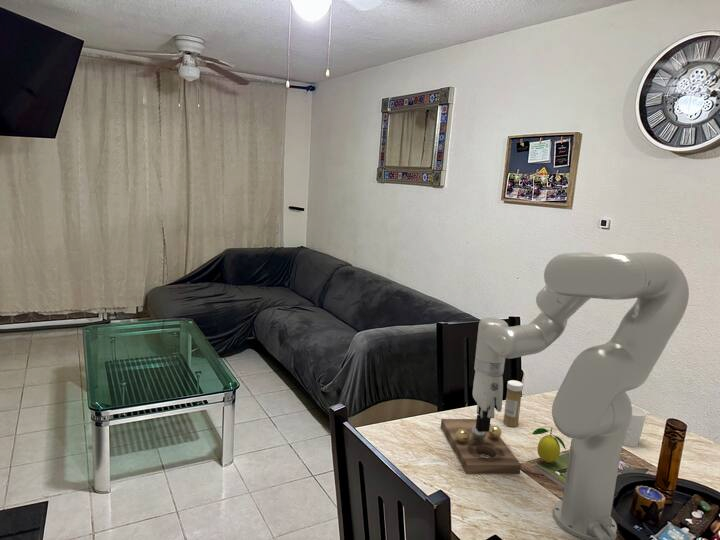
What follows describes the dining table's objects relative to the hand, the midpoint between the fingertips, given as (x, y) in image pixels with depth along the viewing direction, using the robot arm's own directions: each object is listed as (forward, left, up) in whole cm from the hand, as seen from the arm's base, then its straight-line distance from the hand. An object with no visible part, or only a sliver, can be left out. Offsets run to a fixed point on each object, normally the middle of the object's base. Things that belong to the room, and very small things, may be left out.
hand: (482, 430), depth 130 cm
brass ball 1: (+1, +5, -2) cm, 6 cm away
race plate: (+2, 0, -6) cm, 7 cm away
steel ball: (+2, 0, -2) cm, 3 cm away
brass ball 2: (+3, -5, -2) cm, 6 cm away
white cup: (+6, -46, -7) cm, 47 cm away
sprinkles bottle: (+16, -15, -7) cm, 23 cm away
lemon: (-5, -16, -7) cm, 19 cm away
